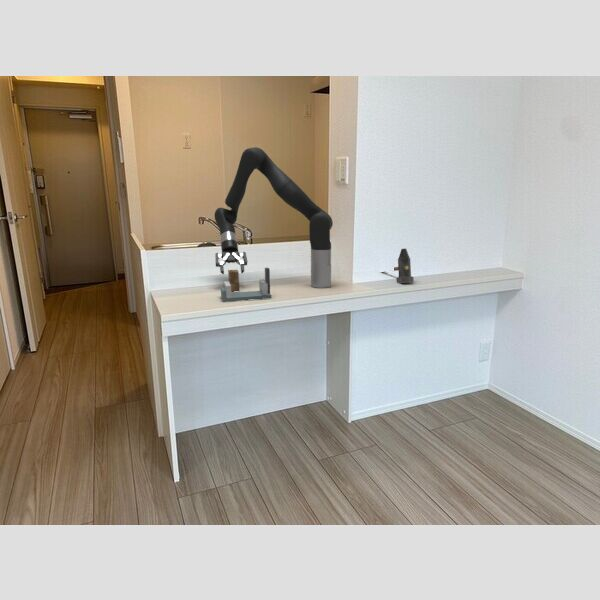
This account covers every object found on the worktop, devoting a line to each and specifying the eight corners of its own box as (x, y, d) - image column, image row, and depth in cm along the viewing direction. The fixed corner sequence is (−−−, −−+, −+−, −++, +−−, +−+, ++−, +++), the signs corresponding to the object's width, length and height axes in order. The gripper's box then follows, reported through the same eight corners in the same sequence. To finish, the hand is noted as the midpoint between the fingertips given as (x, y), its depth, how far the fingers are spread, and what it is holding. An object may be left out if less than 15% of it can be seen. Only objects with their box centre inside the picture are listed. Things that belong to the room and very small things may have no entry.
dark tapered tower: (385, 252, 246) (412, 248, 217) (387, 282, 247) (413, 282, 217) (375, 253, 245) (400, 248, 215) (376, 283, 245) (402, 282, 216)
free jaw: (267, 289, 202) (266, 266, 199) (271, 294, 193) (270, 270, 191) (259, 290, 201) (258, 266, 198) (263, 295, 193) (262, 270, 190)
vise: (267, 293, 202) (267, 278, 201) (271, 298, 194) (271, 283, 192) (221, 296, 198) (220, 281, 196) (223, 302, 189) (222, 286, 187)
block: (237, 289, 211) (237, 269, 209) (239, 291, 206) (238, 271, 204) (229, 289, 210) (228, 270, 208) (230, 292, 205) (229, 272, 203)
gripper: (213, 239, 211) (216, 268, 203) (245, 238, 215) (249, 267, 207) (213, 249, 218) (216, 278, 210) (243, 248, 221) (248, 276, 213)
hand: (232, 272), depth 208 cm, fingers open, 8 cm apart
